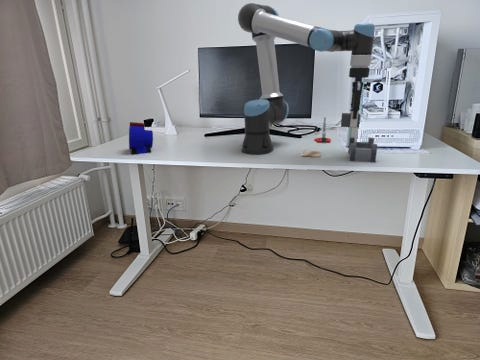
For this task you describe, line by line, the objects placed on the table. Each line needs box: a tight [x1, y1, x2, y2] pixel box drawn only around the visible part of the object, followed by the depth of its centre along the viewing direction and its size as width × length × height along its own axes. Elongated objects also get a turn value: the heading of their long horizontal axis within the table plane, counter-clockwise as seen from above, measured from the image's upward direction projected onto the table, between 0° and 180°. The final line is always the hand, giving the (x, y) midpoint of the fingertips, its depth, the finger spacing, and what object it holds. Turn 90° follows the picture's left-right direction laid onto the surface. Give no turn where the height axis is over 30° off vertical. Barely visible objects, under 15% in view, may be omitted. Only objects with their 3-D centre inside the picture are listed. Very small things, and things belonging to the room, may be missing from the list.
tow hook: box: [314, 117, 332, 144], centre depth 164 cm, size 8×13×9 cm
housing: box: [347, 137, 378, 163], centre depth 135 cm, size 10×14×7 cm
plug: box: [340, 112, 361, 128], centre depth 132 cm, size 7×5×5 cm
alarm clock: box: [128, 121, 154, 156], centre depth 157 cm, size 12×12×15 cm
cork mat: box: [301, 150, 322, 159], centre depth 141 cm, size 8×8×1 cm
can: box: [346, 127, 359, 147], centre depth 150 cm, size 7×7×12 cm
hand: (352, 125), depth 133 cm, fingers closed on plug, 5 cm apart
